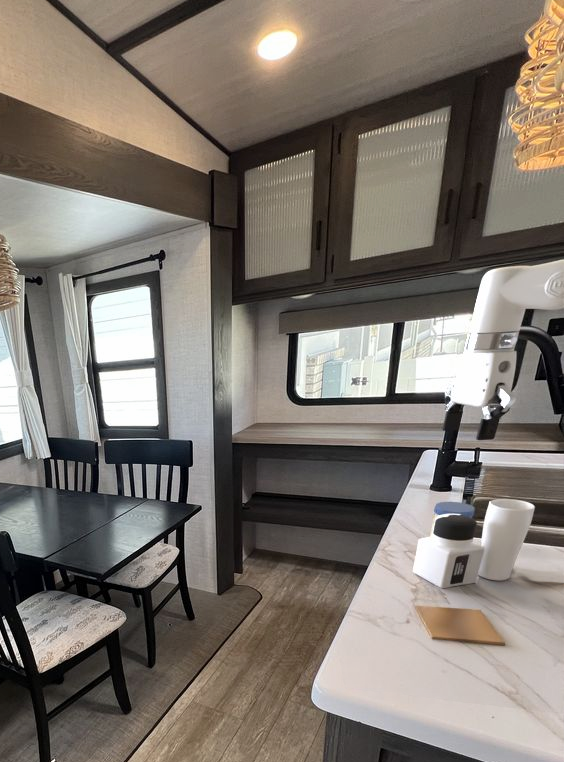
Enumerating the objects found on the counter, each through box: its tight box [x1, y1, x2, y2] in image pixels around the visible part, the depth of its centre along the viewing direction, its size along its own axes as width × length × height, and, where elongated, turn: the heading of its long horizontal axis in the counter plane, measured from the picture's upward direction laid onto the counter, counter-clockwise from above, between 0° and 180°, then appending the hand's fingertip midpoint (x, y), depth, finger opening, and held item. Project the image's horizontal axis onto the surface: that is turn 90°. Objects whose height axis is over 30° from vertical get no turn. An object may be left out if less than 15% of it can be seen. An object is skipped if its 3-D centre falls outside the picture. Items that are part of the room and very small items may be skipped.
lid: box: [433, 501, 476, 518], centre depth 103 cm, size 7×7×1 cm
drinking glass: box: [478, 498, 536, 582], centre depth 90 cm, size 7×7×15 cm
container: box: [412, 514, 484, 589], centre depth 91 cm, size 8×8×13 cm
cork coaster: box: [414, 605, 506, 646], centre depth 79 cm, size 10×10×1 cm
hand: (466, 434), depth 95 cm, fingers open, 9 cm apart
